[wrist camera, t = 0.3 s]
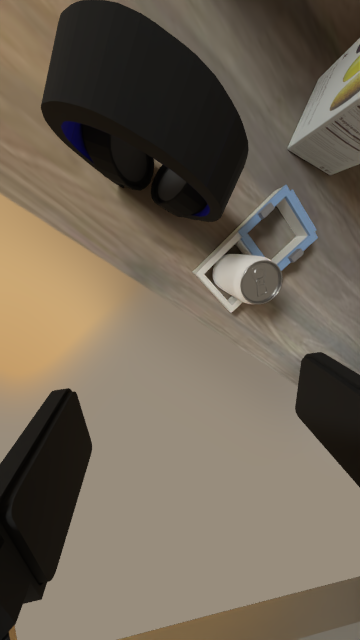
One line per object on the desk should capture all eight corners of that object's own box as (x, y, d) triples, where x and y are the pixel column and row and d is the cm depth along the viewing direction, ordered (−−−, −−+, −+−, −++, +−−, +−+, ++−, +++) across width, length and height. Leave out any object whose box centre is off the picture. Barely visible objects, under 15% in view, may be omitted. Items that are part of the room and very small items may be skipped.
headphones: (214, 190, 33) (298, 115, 14) (197, 231, 34) (250, 213, 16) (97, 122, 28) (-10, -124, 9) (83, 173, 30) (-31, 49, 11)
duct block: (274, 188, 34) (292, 180, 29) (304, 236, 37) (324, 235, 33) (191, 271, 36) (196, 274, 32) (225, 309, 40) (234, 316, 35)
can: (241, 248, 36) (282, 248, 25) (249, 282, 39) (289, 297, 27) (207, 260, 36) (232, 267, 25) (216, 294, 38) (243, 314, 27)
